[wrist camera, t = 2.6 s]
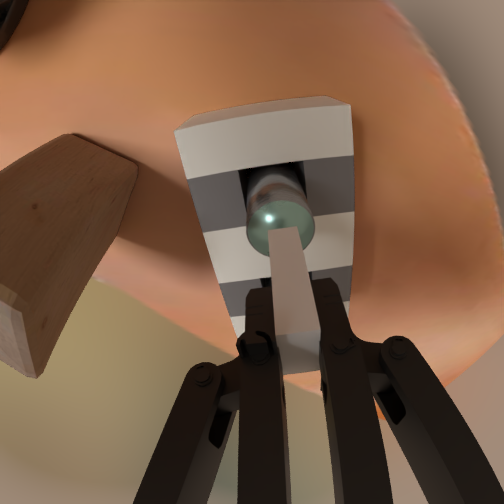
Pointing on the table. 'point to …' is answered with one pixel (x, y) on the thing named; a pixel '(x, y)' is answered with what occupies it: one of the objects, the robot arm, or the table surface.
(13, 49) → the table surface
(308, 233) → the peg
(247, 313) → the robot arm
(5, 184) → the wooden block
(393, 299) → the table surface
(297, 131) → the socket board
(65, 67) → the table surface
